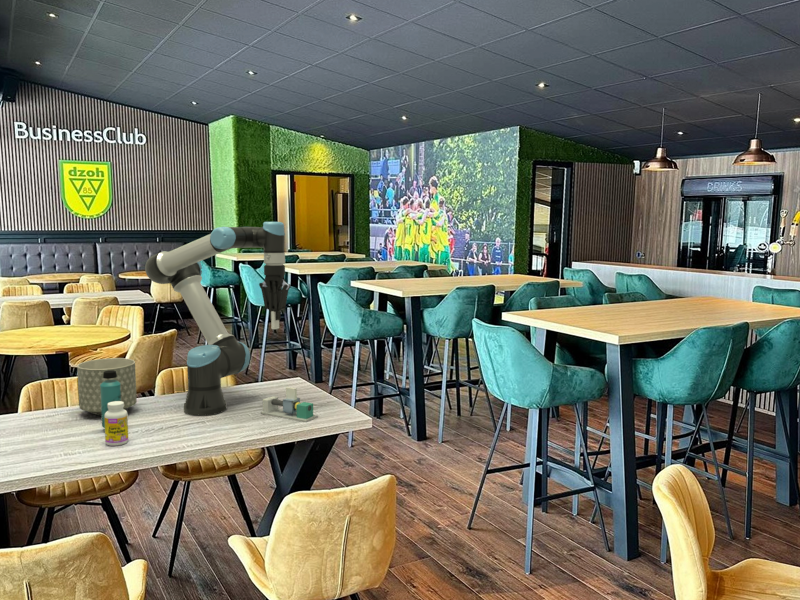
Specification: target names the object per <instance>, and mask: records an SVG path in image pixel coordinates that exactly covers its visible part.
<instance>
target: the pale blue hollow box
mask: <svg viewBox="0 0 800 600" xmlns="http://www.w3.org/2000/svg"><path fill="white" fill-rule="evenodd" d="M297 396H298V388H297V387H291V386H286V387H285V398H283V399H282V401H283V406H282V409H283V412H285V413H291V414H293V413H295V412H297V410H296V409H295V408H293V403H297V402H300V403H301V398H300V397H297Z"/></svg>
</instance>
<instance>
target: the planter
mask: <svg viewBox="0 0 800 600" xmlns="http://www.w3.org/2000/svg"><path fill="white" fill-rule="evenodd" d="M76 366H77V385H78V389H77V390H78V407H79V409H80V410H82V411H84V412H88V413H90V414H92V415H96V416H102V413H101V388H100V385H101V384H102V383H103V382H104V381H106V380H117V381H118V382H120V384H121V385H120V388H121V397H122V398H121V401H122V402H124V407H123V409H124V410H126V411H127V409H129V408H131V407H133V406H135V405H136V404H137V381H136V380H137V377H136V361H135V360H134V359H130V358H124V357H114V358H113V357H112V358H110V357H108V358H97V359H90V360H86V361H83V362H80V363H78V364H77V365H76ZM109 370H114V371H116V374H117V377H116V378H111V379H105V378H103V373H104V372H105V371H109Z"/></svg>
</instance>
